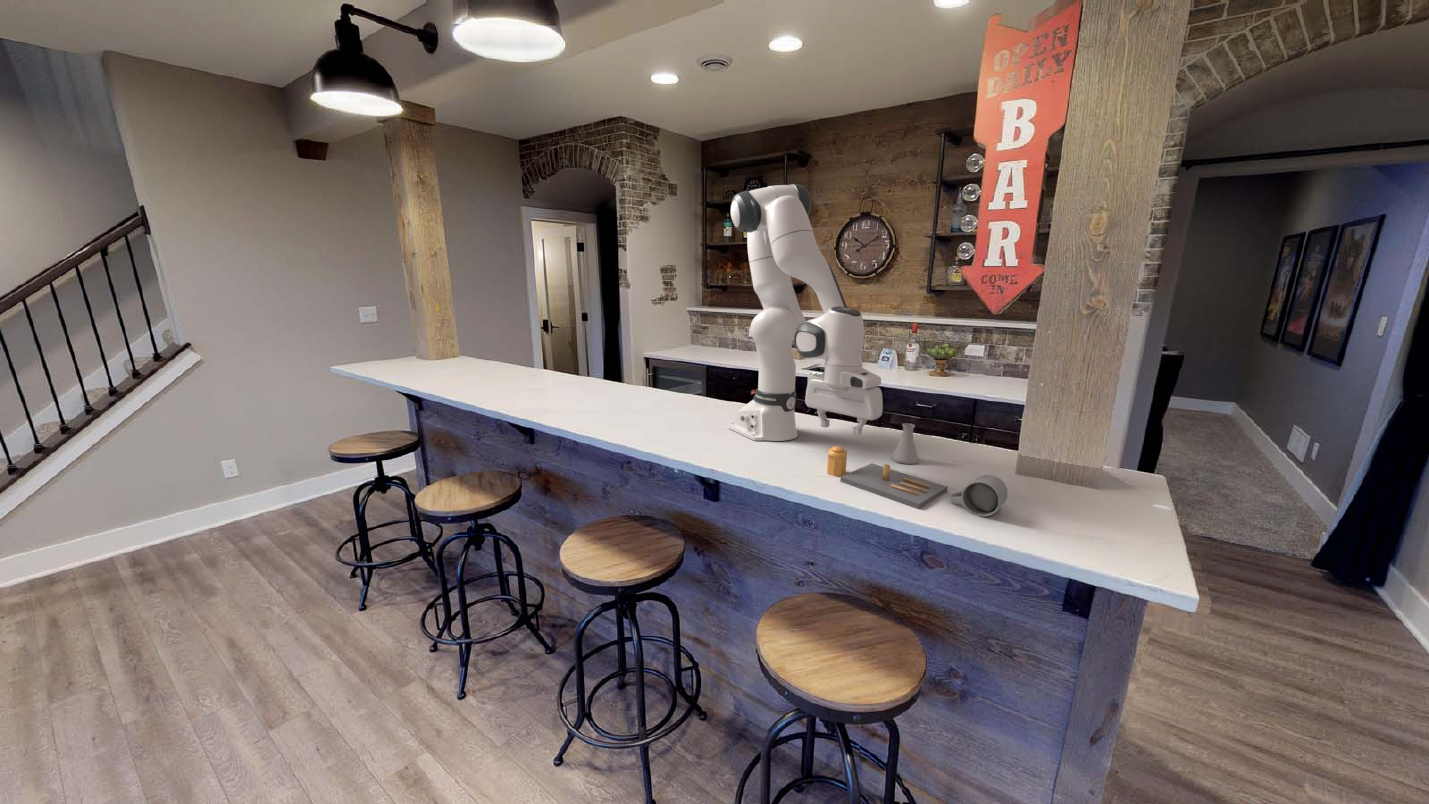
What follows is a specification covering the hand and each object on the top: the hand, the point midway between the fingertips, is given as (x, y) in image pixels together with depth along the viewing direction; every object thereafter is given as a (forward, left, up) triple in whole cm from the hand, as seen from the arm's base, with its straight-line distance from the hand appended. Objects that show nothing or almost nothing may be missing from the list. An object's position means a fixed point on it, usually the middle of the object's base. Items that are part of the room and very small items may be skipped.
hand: (840, 430), depth 131 cm
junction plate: (+13, +3, -11) cm, 18 cm away
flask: (+6, +22, -12) cm, 26 cm away
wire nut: (-1, 0, -11) cm, 11 cm away
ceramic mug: (+32, +6, -12) cm, 34 cm away
